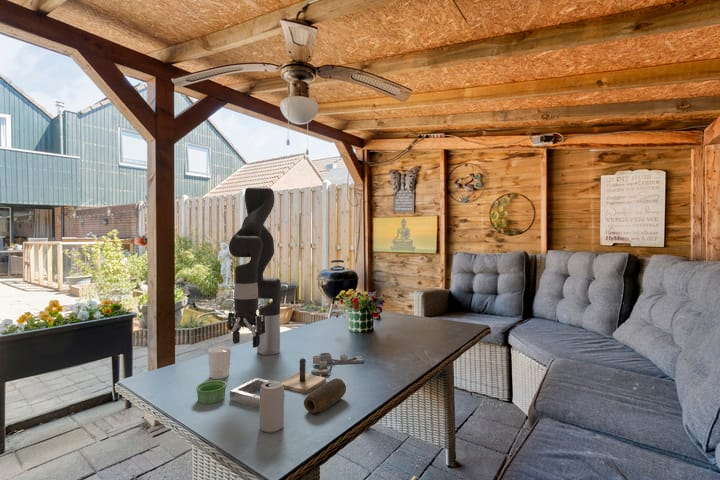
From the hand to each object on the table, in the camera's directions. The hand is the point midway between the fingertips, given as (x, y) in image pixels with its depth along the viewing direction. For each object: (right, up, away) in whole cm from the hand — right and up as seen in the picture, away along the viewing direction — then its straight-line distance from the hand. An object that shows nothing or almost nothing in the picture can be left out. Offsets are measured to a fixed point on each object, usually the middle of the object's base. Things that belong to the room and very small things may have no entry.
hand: (246, 345), depth 122 cm
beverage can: (+14, -17, -21) cm, 30 cm away
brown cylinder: (+27, -17, -8) cm, 33 cm away
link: (+4, -16, -2) cm, 17 cm away
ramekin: (-10, -17, -4) cm, 20 cm away
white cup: (-15, -16, +15) cm, 27 cm away
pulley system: (+27, -17, +28) cm, 42 cm away
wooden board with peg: (+18, -16, +8) cm, 25 cm away
